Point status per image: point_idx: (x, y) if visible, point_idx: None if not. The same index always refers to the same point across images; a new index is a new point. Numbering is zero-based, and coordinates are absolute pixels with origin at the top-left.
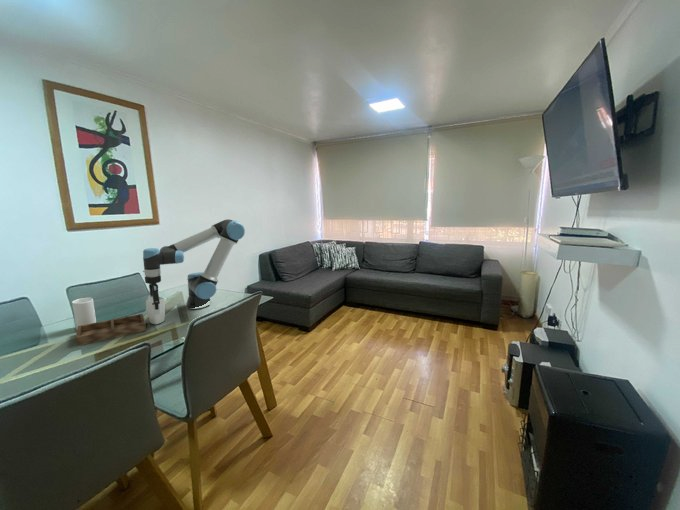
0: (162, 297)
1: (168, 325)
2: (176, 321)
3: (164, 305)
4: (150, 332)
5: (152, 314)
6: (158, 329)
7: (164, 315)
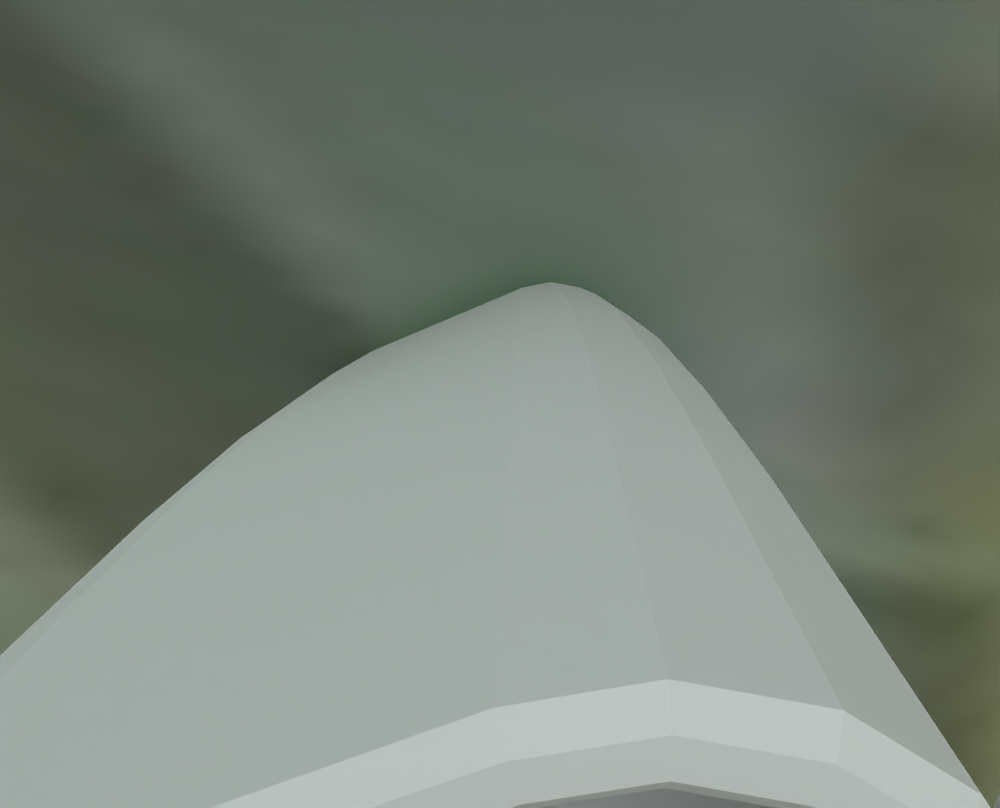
0: (446, 794)
1: (941, 308)
2: (868, 18)
3: (733, 430)
4: (956, 741)
5: (668, 796)
6: (957, 572)
7: (636, 321)
